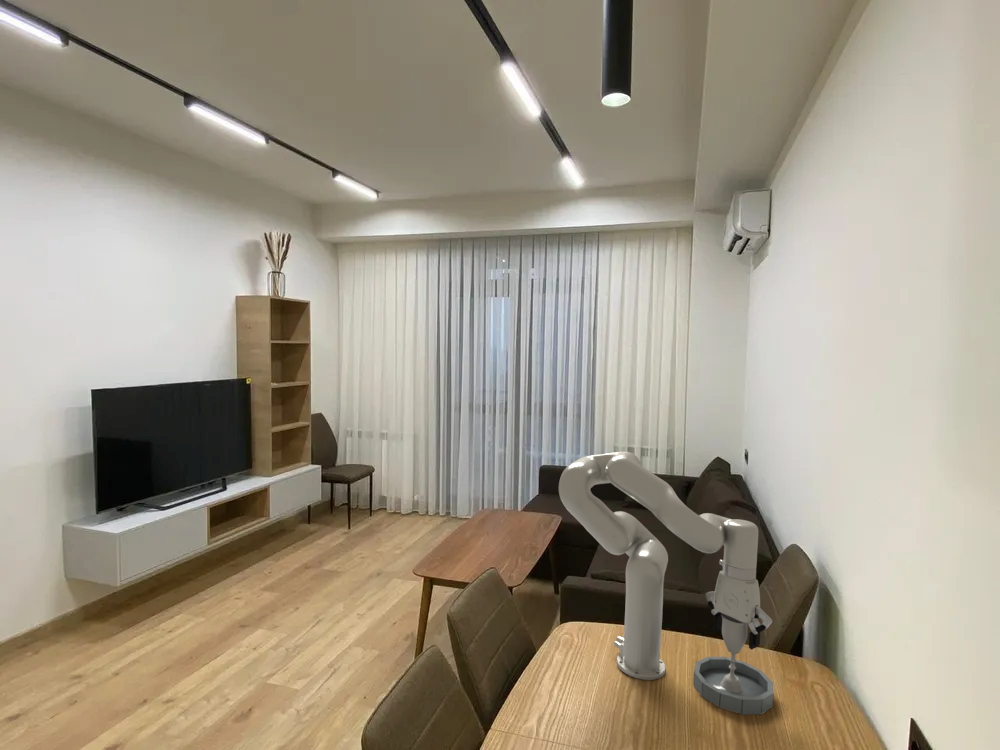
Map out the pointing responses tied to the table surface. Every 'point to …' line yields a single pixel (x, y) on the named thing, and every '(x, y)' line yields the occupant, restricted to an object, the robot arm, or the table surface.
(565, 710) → the table surface
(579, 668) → the table surface
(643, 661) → the robot arm
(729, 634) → the chalice
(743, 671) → the bowl
